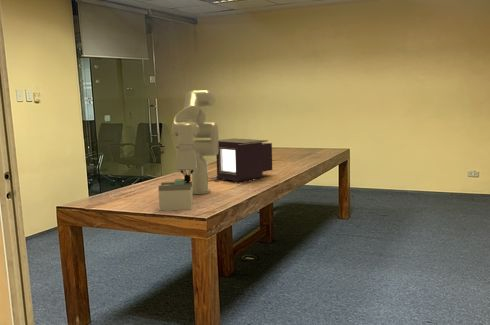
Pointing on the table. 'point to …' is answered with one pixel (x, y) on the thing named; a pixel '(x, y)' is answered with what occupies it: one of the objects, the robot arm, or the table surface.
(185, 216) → the table surface
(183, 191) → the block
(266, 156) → the crt monitor
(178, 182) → the keeper
